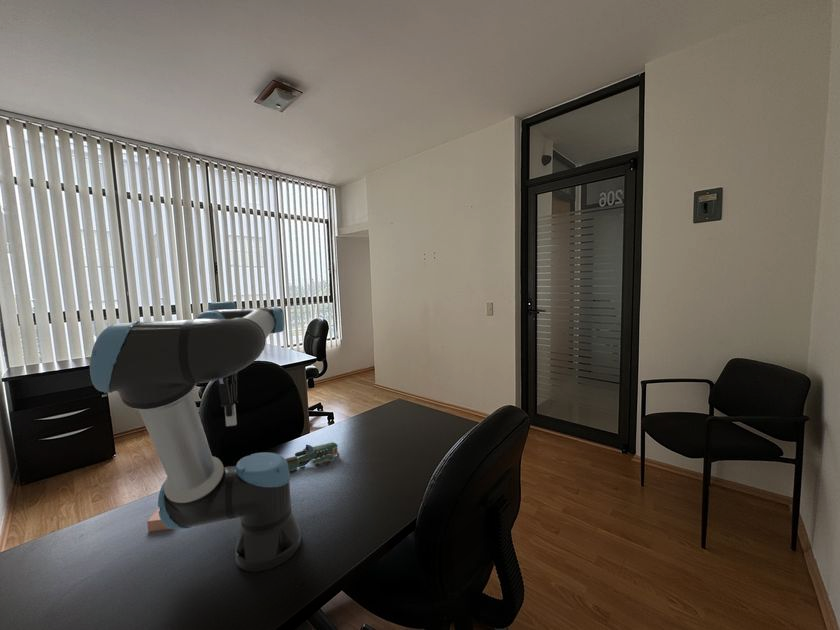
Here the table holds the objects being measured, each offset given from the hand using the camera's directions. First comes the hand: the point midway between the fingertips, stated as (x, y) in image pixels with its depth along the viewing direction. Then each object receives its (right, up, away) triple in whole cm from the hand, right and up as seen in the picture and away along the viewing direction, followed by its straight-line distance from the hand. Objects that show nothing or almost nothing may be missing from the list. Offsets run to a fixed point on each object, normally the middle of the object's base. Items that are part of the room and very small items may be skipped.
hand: (231, 424), depth 111 cm
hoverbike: (+18, -21, +16) cm, 32 cm away
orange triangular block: (-12, -24, -11) cm, 29 cm away
